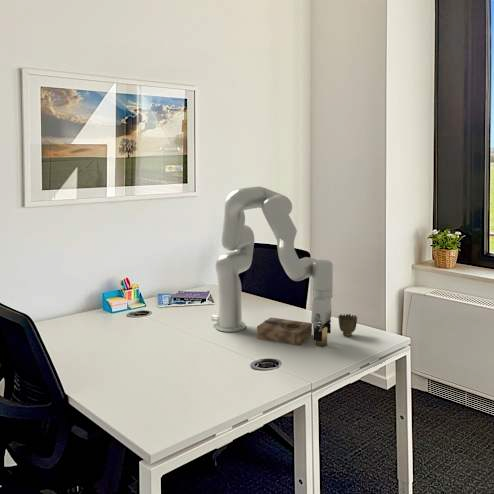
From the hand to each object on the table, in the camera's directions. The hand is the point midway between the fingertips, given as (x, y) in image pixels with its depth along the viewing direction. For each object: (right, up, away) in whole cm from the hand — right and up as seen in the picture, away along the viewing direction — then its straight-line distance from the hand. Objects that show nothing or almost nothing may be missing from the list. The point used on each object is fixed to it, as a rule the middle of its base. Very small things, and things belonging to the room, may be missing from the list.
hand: (322, 336), depth 213 cm
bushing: (0, -3, +1) cm, 3 cm away
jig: (-14, -2, +10) cm, 17 cm away
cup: (+11, -1, +10) cm, 15 cm away
